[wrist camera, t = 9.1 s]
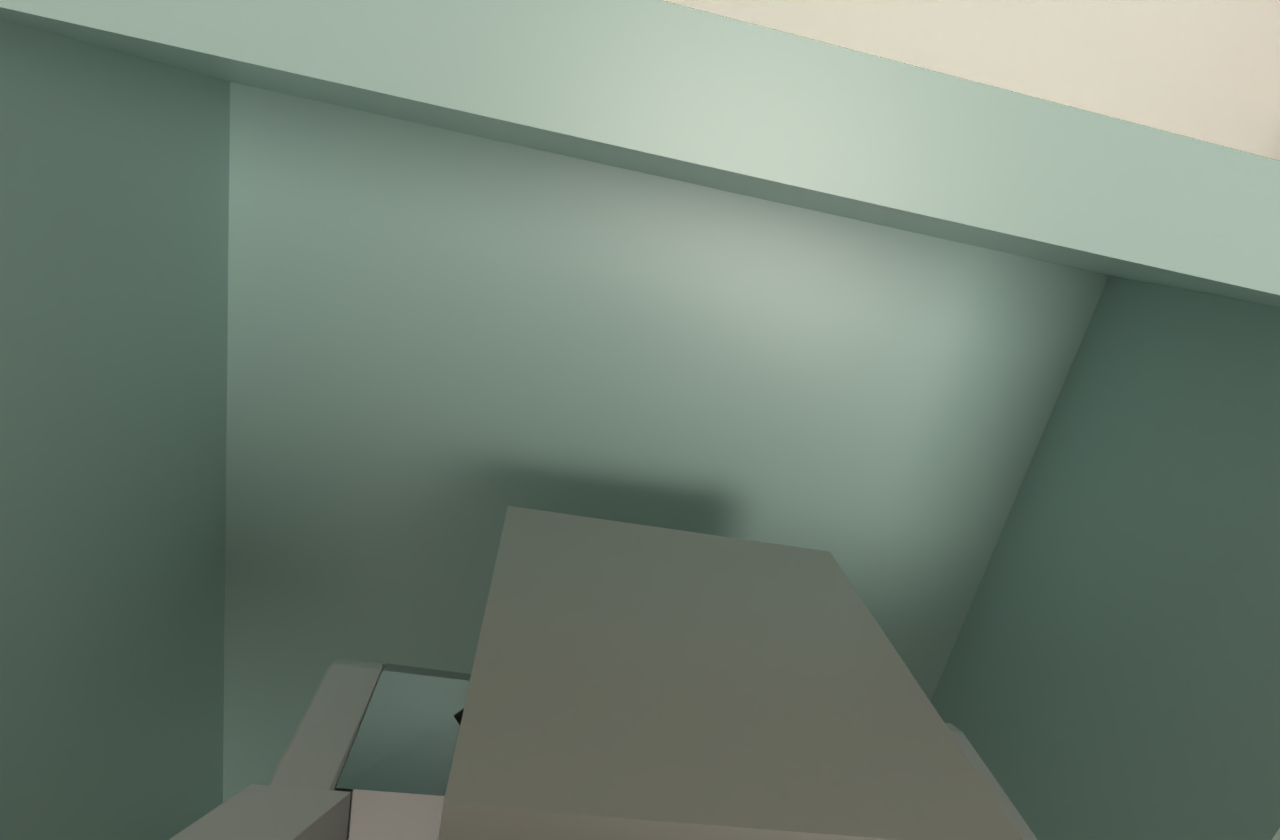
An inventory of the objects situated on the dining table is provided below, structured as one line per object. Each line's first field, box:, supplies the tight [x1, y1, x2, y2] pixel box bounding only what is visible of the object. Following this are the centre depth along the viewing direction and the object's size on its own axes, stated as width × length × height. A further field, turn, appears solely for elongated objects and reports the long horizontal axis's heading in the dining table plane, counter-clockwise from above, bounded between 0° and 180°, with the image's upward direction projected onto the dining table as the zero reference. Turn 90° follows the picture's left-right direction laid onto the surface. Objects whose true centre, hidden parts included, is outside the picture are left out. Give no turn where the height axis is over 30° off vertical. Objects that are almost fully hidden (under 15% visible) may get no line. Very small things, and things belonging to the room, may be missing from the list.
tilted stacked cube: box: [438, 506, 1023, 840], centre depth 7 cm, size 4×4×4 cm
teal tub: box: [0, 0, 1280, 840], centre depth 9 cm, size 14×14×6 cm
